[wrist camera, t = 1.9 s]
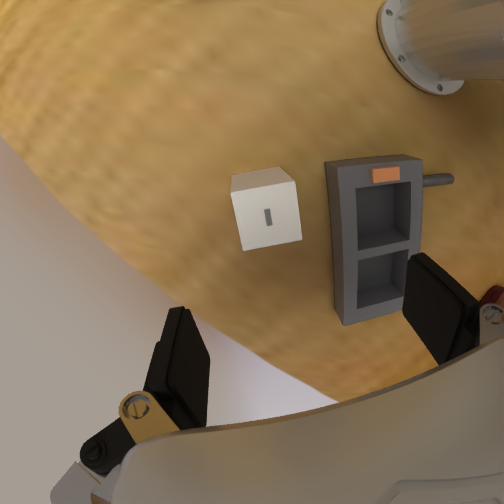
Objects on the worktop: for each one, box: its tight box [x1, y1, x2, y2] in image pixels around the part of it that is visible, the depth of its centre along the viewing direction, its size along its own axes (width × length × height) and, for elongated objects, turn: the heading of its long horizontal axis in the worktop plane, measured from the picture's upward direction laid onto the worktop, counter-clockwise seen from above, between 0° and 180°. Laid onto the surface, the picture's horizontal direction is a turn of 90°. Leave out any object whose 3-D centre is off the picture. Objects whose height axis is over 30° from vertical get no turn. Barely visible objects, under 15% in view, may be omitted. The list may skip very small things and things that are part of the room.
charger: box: [230, 167, 302, 251], centre depth 22 cm, size 4×4×7 cm
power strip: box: [324, 154, 454, 326], centre depth 26 cm, size 17×16×4 cm
